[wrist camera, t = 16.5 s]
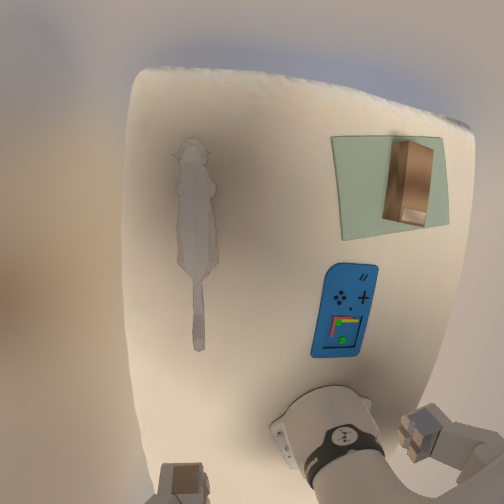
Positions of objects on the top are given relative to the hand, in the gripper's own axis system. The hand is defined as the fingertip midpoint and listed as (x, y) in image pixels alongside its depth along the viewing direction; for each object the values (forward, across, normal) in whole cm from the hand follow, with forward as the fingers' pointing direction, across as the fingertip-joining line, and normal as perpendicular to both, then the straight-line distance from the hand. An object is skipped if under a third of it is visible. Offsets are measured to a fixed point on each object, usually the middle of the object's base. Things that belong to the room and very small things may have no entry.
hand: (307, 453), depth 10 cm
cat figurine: (+31, +5, -5) cm, 32 cm away
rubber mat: (+31, -24, -8) cm, 40 cm away
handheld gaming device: (+32, -14, +10) cm, 36 cm away
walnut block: (+30, -24, -8) cm, 40 cm away
